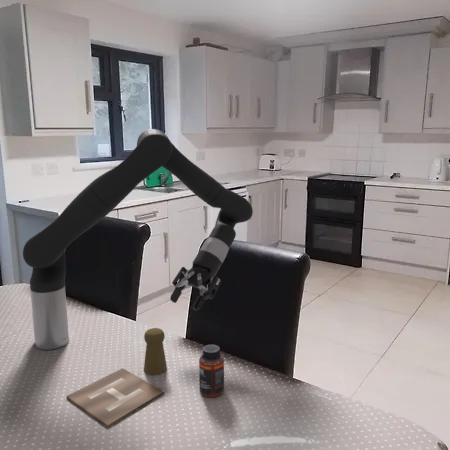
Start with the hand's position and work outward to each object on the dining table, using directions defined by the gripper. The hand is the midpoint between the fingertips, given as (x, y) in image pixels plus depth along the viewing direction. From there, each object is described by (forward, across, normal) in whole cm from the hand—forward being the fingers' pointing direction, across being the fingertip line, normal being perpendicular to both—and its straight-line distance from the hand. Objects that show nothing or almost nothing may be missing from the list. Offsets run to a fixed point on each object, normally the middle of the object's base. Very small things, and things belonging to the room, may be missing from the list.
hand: (183, 305), depth 119 cm
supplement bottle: (+16, +18, +4) cm, 25 cm away
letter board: (+28, +2, -7) cm, 29 cm away
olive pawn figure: (+18, 0, +3) cm, 18 cm away
